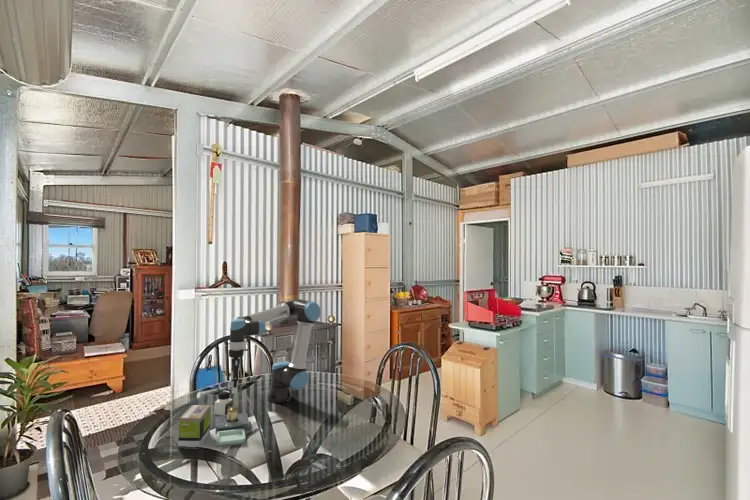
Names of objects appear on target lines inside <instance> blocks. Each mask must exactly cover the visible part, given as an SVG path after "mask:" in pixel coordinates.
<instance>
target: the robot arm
mask: <svg viewBox="0 0 750 500" xmlns="http://www.w3.org/2000/svg"><path fill="white" fill-rule="evenodd" d="M321 312H322V311H321V307H320V306H319V304H318V303H317V302H315V301H311V300H305V299H302V298H298V299H292V300H289V301H285V302H282V303H280V305H278V306H275V307H272V308H269V309H265V310H262V311H258V312H256V313H252V314H249V315H248V314H247V315H245V316H235V317H234V318H232V319H231V321H230V327H229V331H230V332H229V342H228V344H227V345H229V346H228V347H229V348H228V357H229V358H231V373H230V374H231V375H230V376H231V377H230V385H231V395H232V394H238V389H239V388H238V387H239V375H240V374H239V371H240V369H239V368H240V362H241V361H240V360H241V359H240V358H241V357H244V354H245V353H244V352H245V350H244V348H245V338H246V337H250V336H251V337H253V336H259V335H262V334H264V333H265V331H266V323H270V322H273V321H276V320H278V319H281V318H290V317H293V318H296V322H297V324H298V325H297V328H296V329H297V330H296V335H295V341H294V346H293V350H292V357H291V361H277V362H274V363H273V364H272V367H271V381H270V383H271V384H270V388H269V390H268V393H267V396H266V397H267V398H266V399H267V401H268V400H269V401H268V402H270V401H271V402H270V403H273V404H282V402H283V403H286V402H285V401H287V400H289V399H291V400H292V398H291V397H293V396H292V395H293V394H292V391H291V390H295V391H300V390H302V389H304V388H305V387H306V386H307V384H308V383H309V378H310V376H309V374H308V372H307V369H308V368H307V366H306V361H307V360H306V359H307V354H308V349H309V343H310V339H311V335H312V334H311V332H312V327H313V326H314V325H315V324H316V322H317V321H318V320H319V319H320V317H321ZM289 401H290V400H289ZM287 402H288V401H287Z"/></svg>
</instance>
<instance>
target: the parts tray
mask: <svg viewBox="0 0 750 500" xmlns="http://www.w3.org/2000/svg"><path fill="white" fill-rule="evenodd" d="M239 445H246V431H244V428H243V429H235V430H226V431H218V432H217V435H216V448H223V447H230V446H239Z"/></svg>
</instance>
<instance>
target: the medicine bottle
mask: <svg viewBox="0 0 750 500" xmlns="http://www.w3.org/2000/svg"><path fill="white" fill-rule="evenodd" d="M230 396H231V392H230V391H228V390H222V391H219V393H218V399H217V400H216V401H214V410H213V414H214V415H216V416H220V415H228V408H229V407H231V406H233V398H230Z"/></svg>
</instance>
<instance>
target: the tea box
mask: <svg viewBox="0 0 750 500" xmlns="http://www.w3.org/2000/svg"><path fill="white" fill-rule="evenodd" d="M211 411H212V405H211V404H203V405H201V404H191V405H190V406H189V408H188V409H187V410H185V412H184V413H183V414H182V415H181V416H180V417H179V420H178V439H177V440H178V442H177V447H178V446H186V447H199V448H201V446H202V445H201V444H204V442H205V440H206V439H207V438H208V436H209V435H210V433H211V419H212V418H211V416H212V415H211V413H212V412H211ZM206 437H207V438H206ZM203 441H204V442H203ZM200 445H201V446H200Z"/></svg>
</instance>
